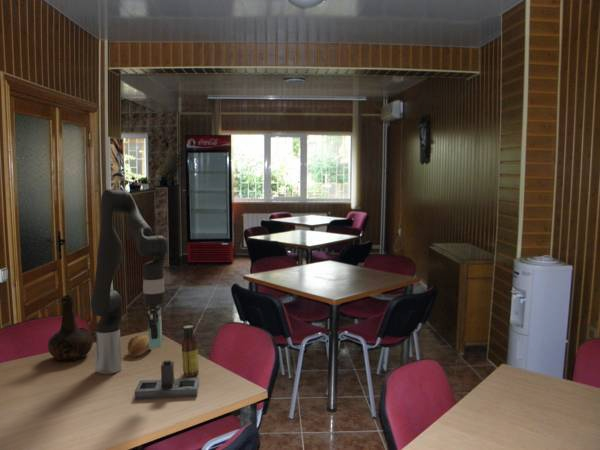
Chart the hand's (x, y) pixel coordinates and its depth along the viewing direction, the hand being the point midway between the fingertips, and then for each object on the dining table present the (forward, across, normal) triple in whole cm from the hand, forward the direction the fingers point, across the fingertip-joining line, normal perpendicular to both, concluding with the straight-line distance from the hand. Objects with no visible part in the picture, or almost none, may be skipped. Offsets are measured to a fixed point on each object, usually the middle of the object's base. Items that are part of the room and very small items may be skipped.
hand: (155, 336), depth 185 cm
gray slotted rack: (+22, 0, -4) cm, 22 cm away
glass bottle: (+21, +42, +44) cm, 65 cm away
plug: (+4, 0, 0) cm, 4 cm away
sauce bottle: (+22, +17, -10) cm, 30 cm away
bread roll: (+22, +45, +15) cm, 52 cm away
